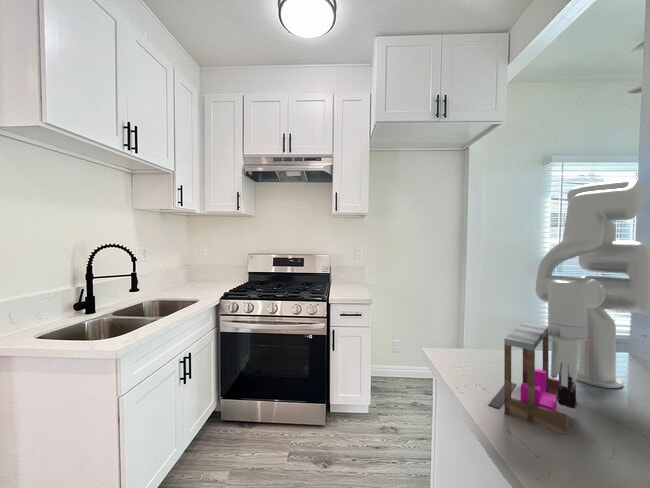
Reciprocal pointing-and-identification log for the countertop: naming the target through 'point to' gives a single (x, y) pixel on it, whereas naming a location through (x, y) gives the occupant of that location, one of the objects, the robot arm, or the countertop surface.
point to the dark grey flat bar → (500, 397)
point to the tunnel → (531, 378)
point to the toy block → (539, 392)
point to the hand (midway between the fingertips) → (566, 405)
